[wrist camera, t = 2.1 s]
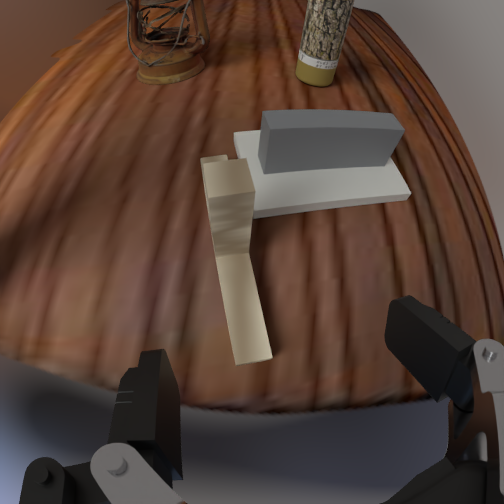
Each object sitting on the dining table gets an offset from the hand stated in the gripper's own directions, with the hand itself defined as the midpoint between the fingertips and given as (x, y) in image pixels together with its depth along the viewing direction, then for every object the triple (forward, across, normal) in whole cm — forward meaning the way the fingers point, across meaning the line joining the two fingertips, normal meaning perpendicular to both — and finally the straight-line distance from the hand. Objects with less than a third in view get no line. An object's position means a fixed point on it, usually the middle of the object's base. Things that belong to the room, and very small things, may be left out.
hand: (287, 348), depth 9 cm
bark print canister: (+41, -20, -19) cm, 50 cm away
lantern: (+47, +5, -25) cm, 53 cm away
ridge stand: (+26, -13, -4) cm, 29 cm away
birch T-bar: (+20, 0, +3) cm, 20 cm away
